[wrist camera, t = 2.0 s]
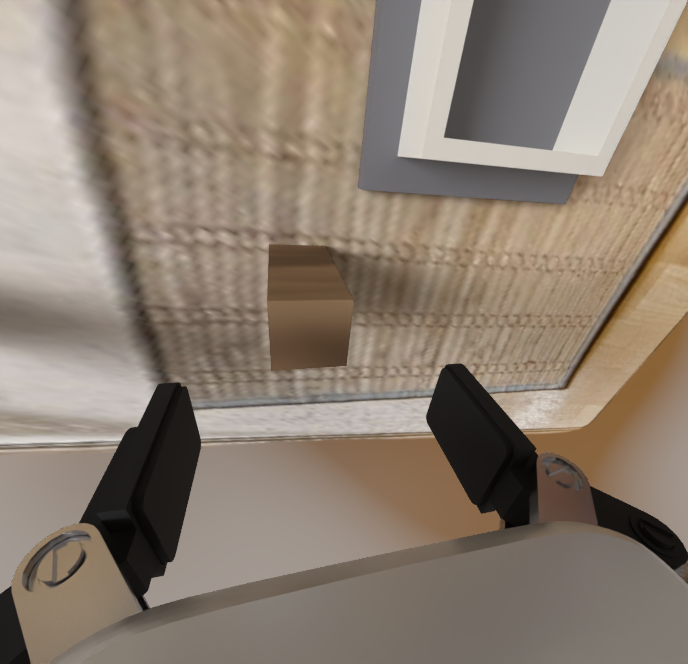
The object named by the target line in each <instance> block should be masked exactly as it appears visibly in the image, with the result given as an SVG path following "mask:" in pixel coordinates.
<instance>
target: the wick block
mask: <svg viewBox="0 0 688 664" xmlns="http://www.w3.org/2000/svg"><path fill="white" fill-rule="evenodd" d="M353 302H354V299H353V297H352V296H351V294H350V292H349V290H348V288H347V286H346V284H345V282H344V280H343V278H342V276H341V275H340V273H339V271H338V269H337V267H336V265H335V263H334V261H333V259H332V257H331V256H330V254H329V252H328V250H327V248H326V246H305V245H269V265H268V296H267V304H268V321H269V338H270V355H271V371H273V370H288V369H304V368H320V367H336V366H346V365H347V356H348V347H349V338H350V329H351V320H352V311H353Z"/></svg>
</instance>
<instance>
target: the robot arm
mask: <svg viewBox="0 0 688 664" xmlns="http://www.w3.org/2000/svg"><path fill="white" fill-rule="evenodd" d="M426 419H427V423H428V425H429V427H430V429H431V431H432V432H433V434H434V436H435V438H436V439H437V441H438V443H439V445H440V447H441V448H442V450H443V452H444V454H445V455H446V457H447V459H448V461H449V463H450V465H451V466H452V468H453V470H454V472H455V473H456V475H457V477H458V479H459V481H460V483H461V484H462V486H463V488H464V490H465V492H466V493H467V495H468V497H469V499H470V500H471V502H472V503H473V504H475V505H477V507H478V508H479V510H480V512H481V513H487V512H492V511H495V510H496V511H497V512H498V514H499V516H500V524H499V530H497V531H492V532H487V533H482V534H477V535H473V536H467V537H463V538H458V539H453V540H448V541H443V542H439V543H433V544H429V545H424V546H420V547H415V548H410V549H405V550H400V551H396V552H391V553H386V554H381V555H376V556H372V557H367V558H362V559H358V560H353V561H349V562H343V563H339V564H334V565H329V566H325V567H320V568H316V569H311V570H306V571H302V572H297V573H293V574H288V575H283V576H279V577H274V578H270V579H265V580H260V581H256V582H251V583H247V584H243V585H239V586H234V587H230V588H226V589H222V590H217V591H213V592H209V593H204V594H201V595H196V596H192V597H187V598H184V599H181V600H177V601H174V602H170V603H167V604H163V605H160V606H157V607H153V608H150V606H149V605H148V603H147V601H146V599H145V597H144V594H145V593H146V592H147V591H148V589H149V585H150V581H151V578H154V577H159V576H163V575H164V573H165V569H166V565H167V562H172V561H173V560H174V557H175V554H176V550H177V546H178V542H179V537H180V533H181V529H182V525H183V521H184V517H185V512H186V508H187V504H188V500H189V496H190V491H191V487H192V483H193V479H194V475H195V470H196V466H197V462H198V457H199V453H200V449H201V439H200V435H199V431H198V427H197V424H196V420H195V416H194V412H193V408H192V405H191V401H190V397H189V393H188V389H187V387H186V386H184V387H181V384H180V383H163V384H159V385H158V386H157V388H156V390H155V392H154V394H153V396H152V398H151V400H150V402H149V404H148V406H147V408H146V411H145V413H144V415H143V417H142V419H141V421H140V423H139V425H138V427H133V428H130V429H128V430H127V432H126V433H125V435H124V436H123V438H122V440H121V442H120V444H119V446H118V448H117V450H116V452H115V454H114V456H113V458H112V460H111V462H110V464H109V466H108V468H107V470H106V472H105V474H104V476H103V477H102V480H101V481H100V484H99V485H98V487H97V489H96V491H95V493H94V495H93V497H92V499H91V501H90V503H89V505H88V507H87V509H86V511H85V513H84V514H83V516H82V518H81V520H80V522H79V524H73V525H70V526H67V527H64V528H61V529H60V530H58V531H56V532H54V533H52V534H50V535H49V536H47V537H46V538H45V539H43V540H42V541H41V542H39V543H38V544H37V545H36V546H35V547H34V548H33V549H32V550H31V551H30V552H29V553H28V554H27V555H26V556H25V557H24V559H23V560H22V562H21V563H20V564H19V566H18V567H17V569H16V571H15V574H14V577H13V579H12V586H10V587H9V588H8V589H6V590H5V591H4V592H2V593H1V594H0V664H688V552H687V551H686V549H685V547H684V545H683V543H682V542H681V541H680V539H679V538H678V537H677V535H676V534H675V533H673V531H672V530H670V529H669V528H668V527H667V526H666V525H665V524H663V523H662V522H661V521H659V520H658V519H656V518H654V517H653V516H651V515H649V514H647V513H645V512H643V511H641V510H639V509H637V508H635V507H633V506H631V505H629V504H627V503H625V502H623V501H620V500H618V499H616V498H614V497H612V496H610V495H608V494H606V493H603V492H602V491H600V490H597V489H595V488H593V487H591V486H590V484H589V482H588V479H587V477H586V476H585V474H584V473H583V472H582V470H581V469H580V468H579V467H578V466H576V465H575V464H574V463H573V462H571V461H570V460H568V459H567V458H564V457H563V456H561V455H558V454H554V453H547V452H546V453H542V454H540V455H539V456H538V455H537V454H536V452H535V450H536V448H535V446H534V445H533V444H532V443H531V442H530V441H529V439H528V438H527V437H526V436H525V435H524V434H523V432H522V431H521V430H520V429H519V428H518V427H517V426H516V424H515V423H514V422H513V421H512V420H511V419H510V418H509V416H508V415H507V414H506V413H505V412H504V411H503V410H502V408H501V407H500V406H499V405H498V404H497V403H496V401H495V400H494V399H493V398H492V397H491V396H490V395H489V393H488V392H487V391H486V390H485V389H484V388H483V387H482V385H481V384H480V383H479V382H478V381H477V380H476V379H475V377H474V376H473V375H472V374H471V373H470V372H469V370H468V369H467V368H466V367H465V366H464V365H463V364H448V365H446V366H445V368H443V369H442V370H441V373H440V376H439V379H438V382H437V385H436V388H435V391H434V394H433V397H432V400H431V403H430V406H429V409H428V412H427V415H426Z"/></svg>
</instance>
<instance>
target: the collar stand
mask: <svg viewBox="0 0 688 664" xmlns="http://www.w3.org/2000/svg"><path fill="white" fill-rule="evenodd" d="M687 1H688V0H376V10H375V20H374V30H373V40H372V50H371V60H370V71H369V81H368V91H367V101H366V111H365V121H364V132H363V142H362V152H361V162H360V172H359V182H358V188H360V189H362V190H373V191H387V192H401V193H415V194H429V195H443V196H457V197H471V198H485V199H499V200H513V201H527V202H541V203H555V204H566V202H567V200H568V197H569V195H570V193H571V191H572V188H573V186H574V184H575V182H576V179H577V177H578V175H579V174H580V175H591V176H601V177H602V176H603V174H604V172H605V170H606V168H607V166H608V164H609V162H610V159H611V157H612V155H613V153H614V151H615V149H616V147H617V145H618V143H619V141H620V139H621V137H622V135H623V133H624V131H625V129H626V127H627V124H628V122H629V120H630V118H631V116H632V114H633V112H634V110H635V108H636V106H637V104H638V102H639V100H640V98H641V96H642V94H643V92H644V89H645V87H646V85H647V83H648V81H649V79H650V77H651V75H652V73H653V71H654V69H655V67H656V65H657V63H658V61H659V59H660V56H661V54H662V52H663V50H664V48H665V46H666V44H667V42H668V40H669V38H670V36H671V34H672V32H673V30H674V28H675V26H676V24H677V21H678V19H679V17H680V15H681V13H682V11H683V9H684V7H685V5H686V3H687Z"/></svg>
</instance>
